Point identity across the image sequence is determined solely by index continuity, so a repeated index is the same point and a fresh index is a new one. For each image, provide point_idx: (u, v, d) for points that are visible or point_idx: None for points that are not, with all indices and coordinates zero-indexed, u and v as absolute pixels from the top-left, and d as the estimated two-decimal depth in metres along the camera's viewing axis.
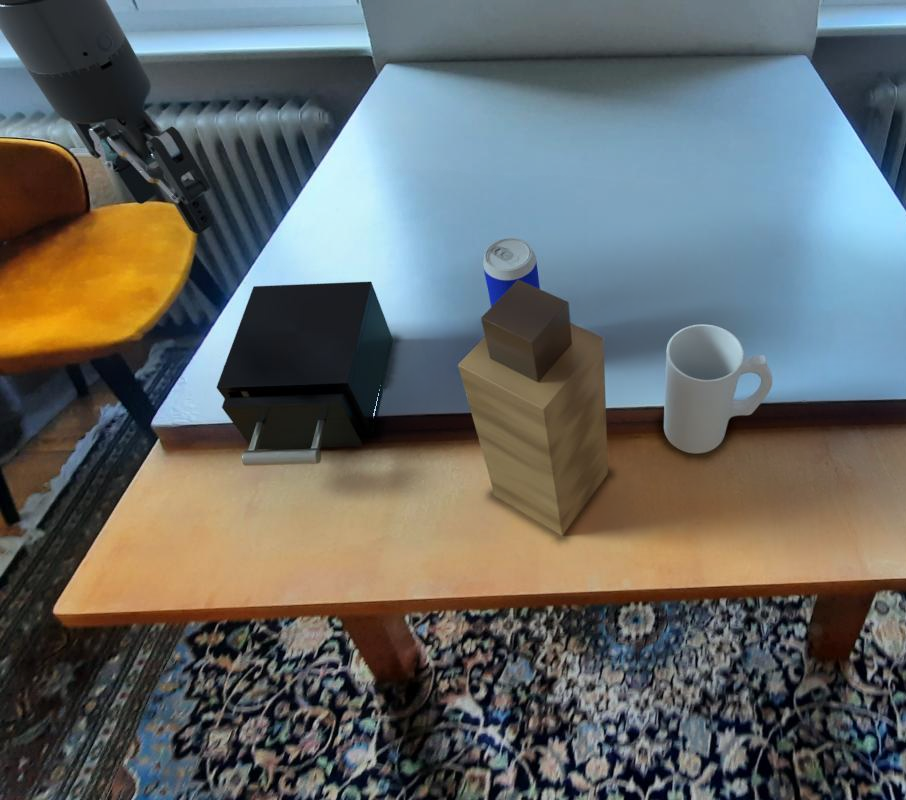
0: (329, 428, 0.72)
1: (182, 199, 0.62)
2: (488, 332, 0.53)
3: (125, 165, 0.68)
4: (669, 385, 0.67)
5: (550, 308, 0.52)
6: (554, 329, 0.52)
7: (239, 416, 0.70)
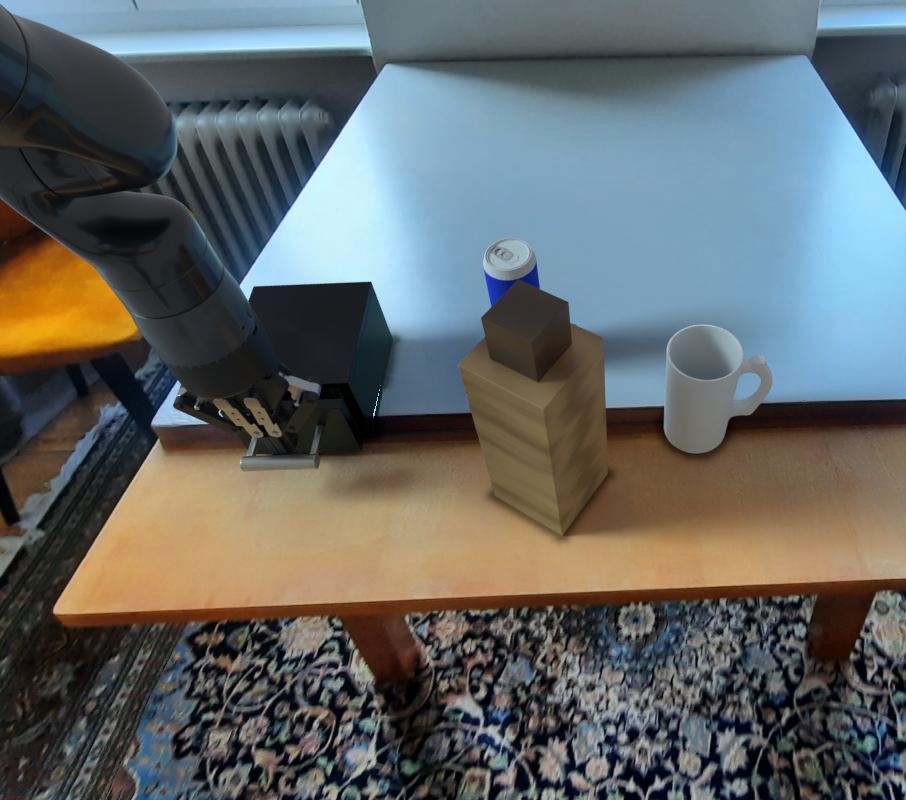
0: (327, 433, 0.71)
1: (293, 430, 0.65)
2: (488, 332, 0.53)
3: None
4: (669, 385, 0.67)
5: (550, 308, 0.52)
6: (554, 329, 0.52)
7: None
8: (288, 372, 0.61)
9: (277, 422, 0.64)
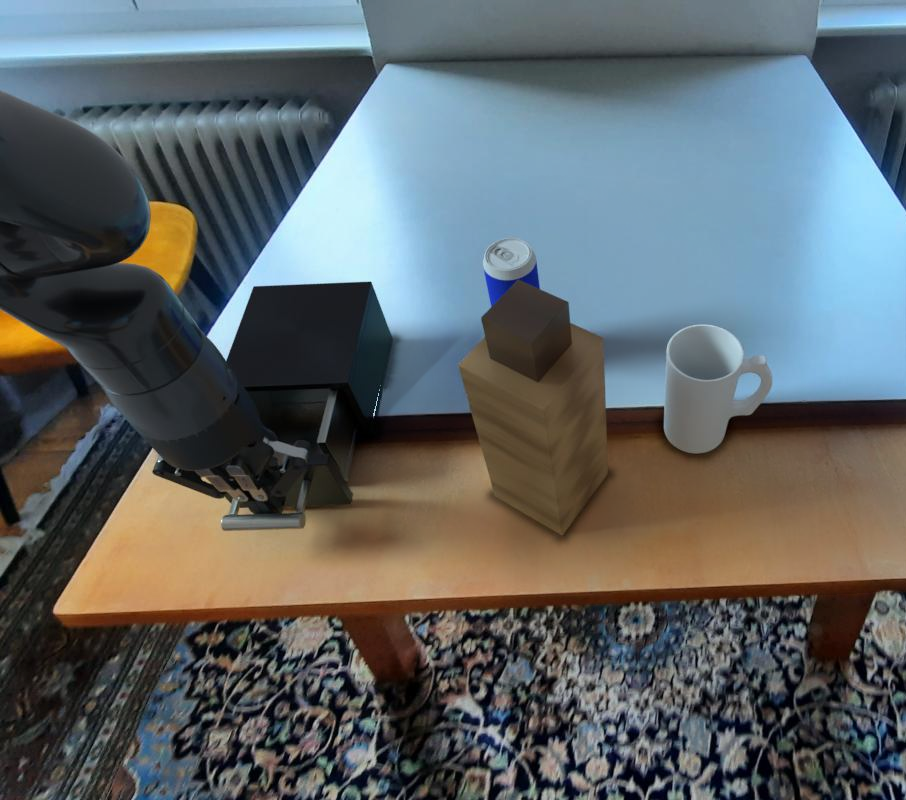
0: (314, 488, 0.68)
1: (279, 495, 0.62)
2: (488, 332, 0.53)
3: None
4: (669, 385, 0.67)
5: (550, 308, 0.52)
6: (554, 329, 0.52)
7: None
8: (273, 437, 0.58)
9: (262, 487, 0.61)
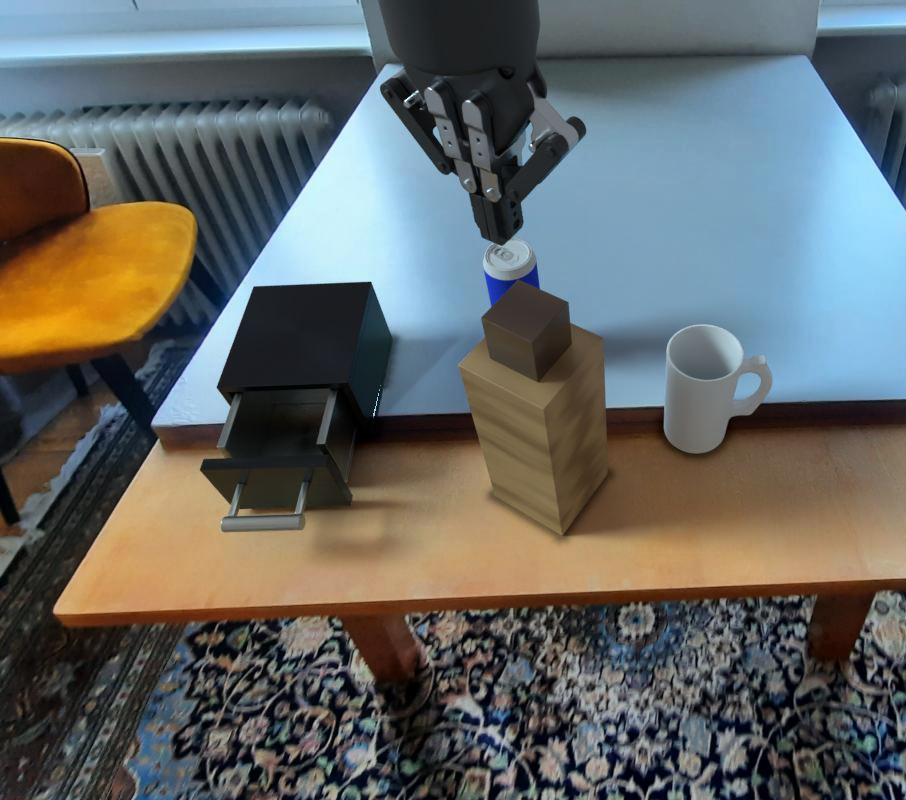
0: (314, 489, 0.68)
1: (514, 197, 0.41)
2: (488, 332, 0.53)
3: None
4: (669, 385, 0.67)
5: (550, 308, 0.52)
6: (554, 329, 0.52)
7: (218, 478, 0.66)
8: (542, 89, 0.37)
9: (499, 175, 0.41)
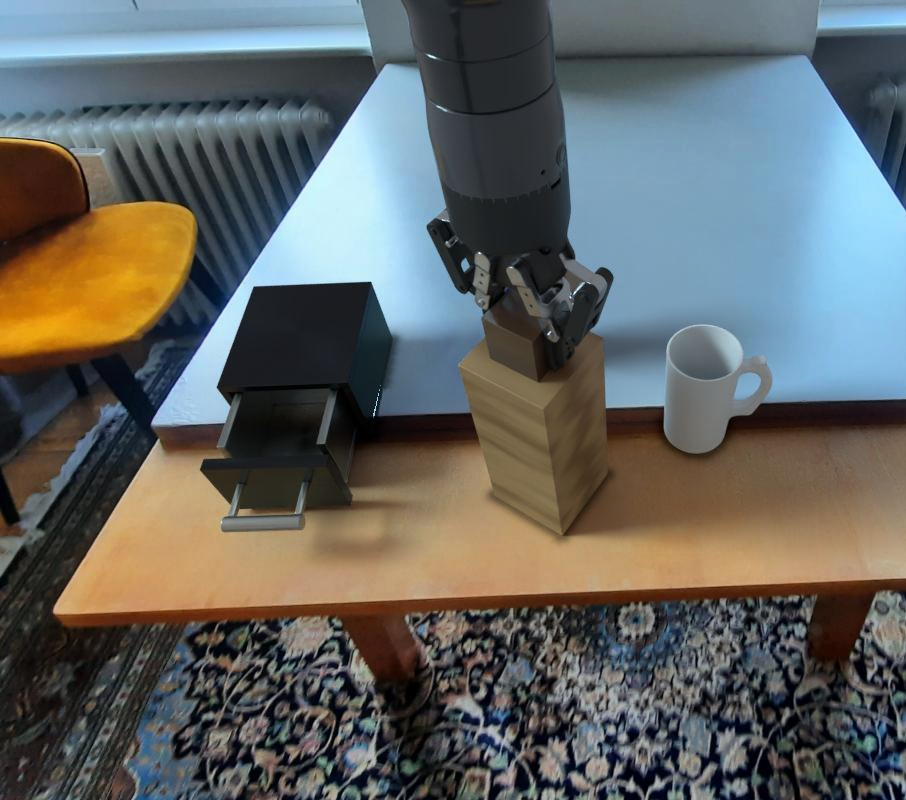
0: (314, 489, 0.68)
1: (571, 342, 0.49)
2: (488, 332, 0.53)
3: None
4: (669, 385, 0.67)
5: None
6: None
7: (218, 478, 0.66)
8: (571, 258, 0.46)
9: (552, 319, 0.49)
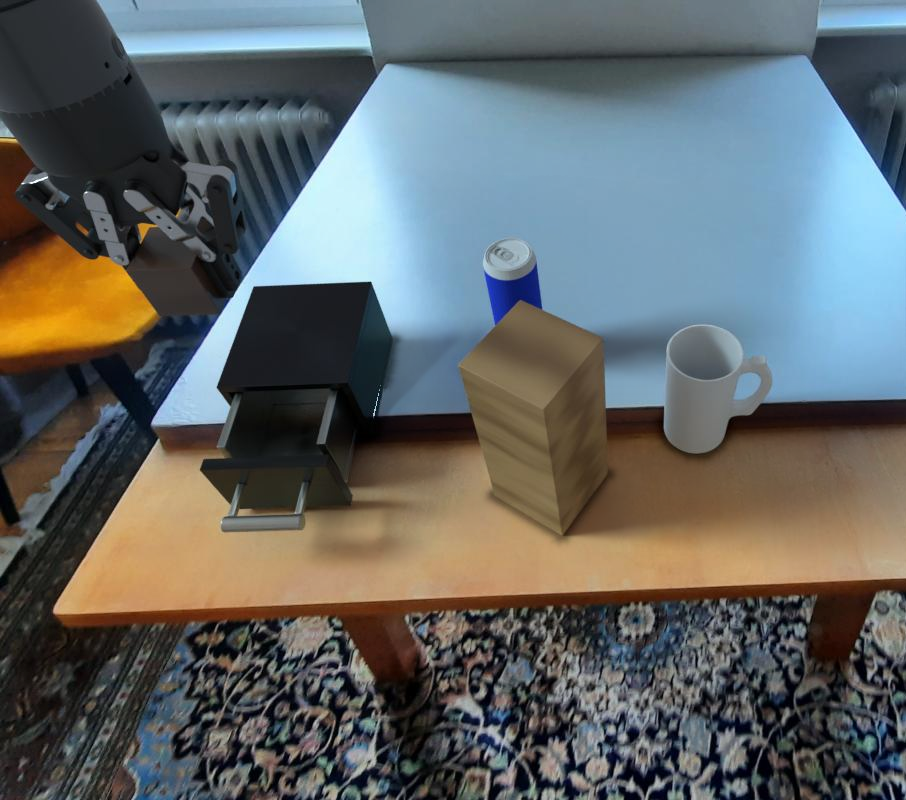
0: (314, 489, 0.68)
1: (229, 249, 0.49)
2: (142, 284, 0.51)
3: None
4: (669, 385, 0.67)
5: None
6: None
7: (218, 478, 0.66)
8: (185, 162, 0.46)
9: (198, 235, 0.49)
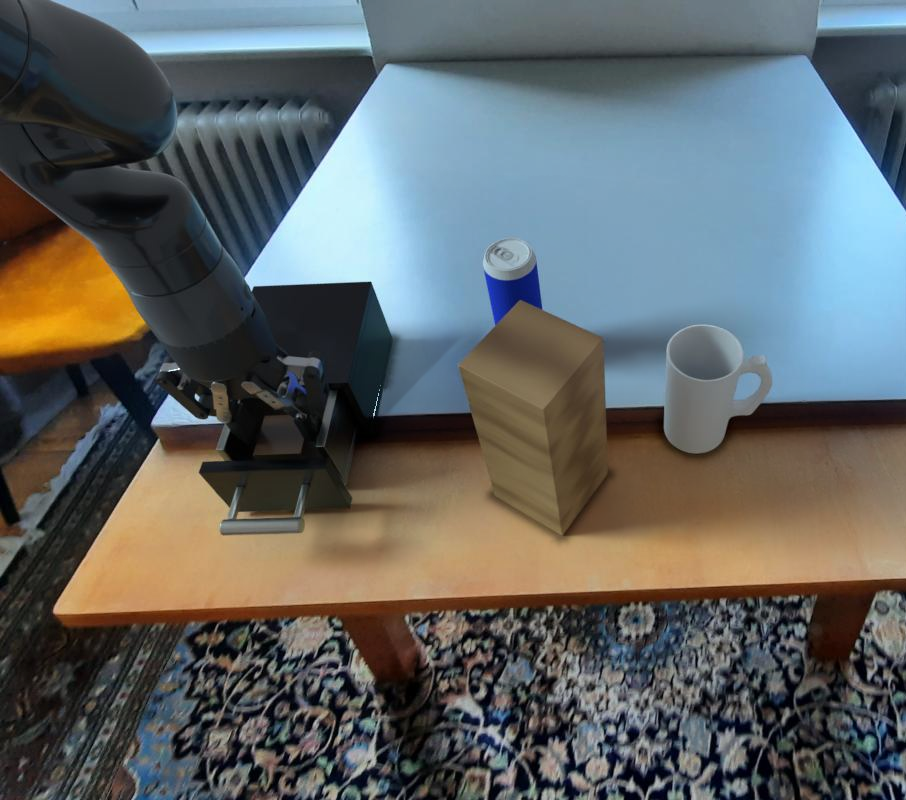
0: (313, 492, 0.67)
1: (318, 413, 0.64)
2: None
3: (236, 412, 0.66)
4: (669, 385, 0.67)
5: None
6: None
7: (217, 481, 0.66)
8: None
9: (294, 404, 0.63)
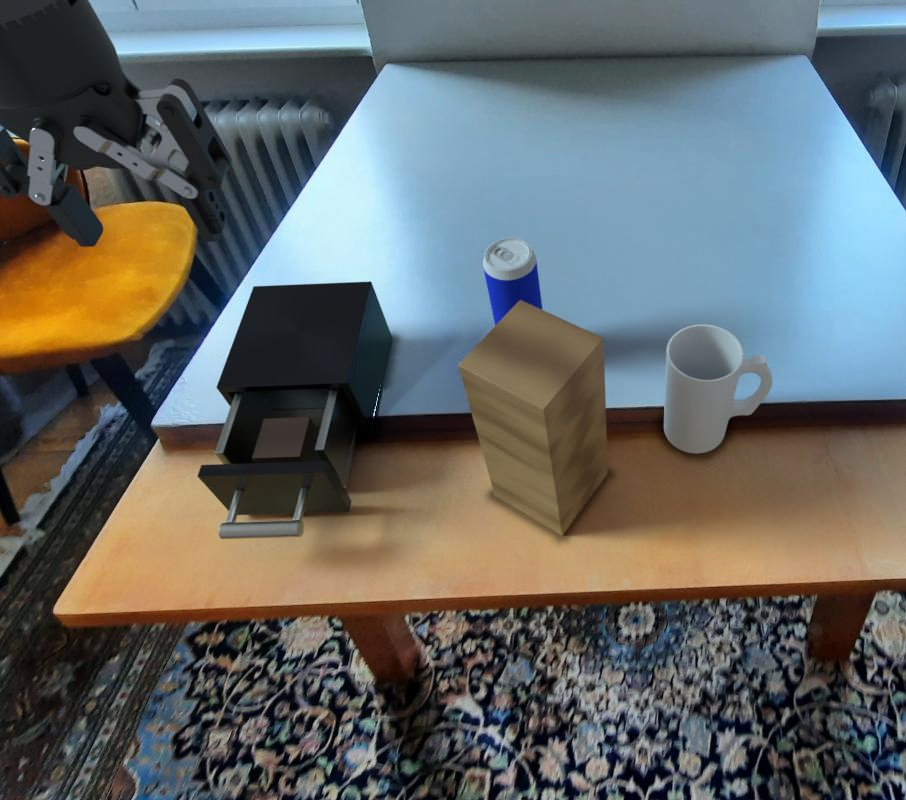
0: (313, 495, 0.67)
1: (212, 182, 0.45)
2: None
3: (61, 193, 0.47)
4: (669, 385, 0.67)
5: (299, 427, 0.69)
6: (309, 440, 0.70)
7: (216, 484, 0.66)
8: None
9: (170, 168, 0.45)
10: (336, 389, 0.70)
